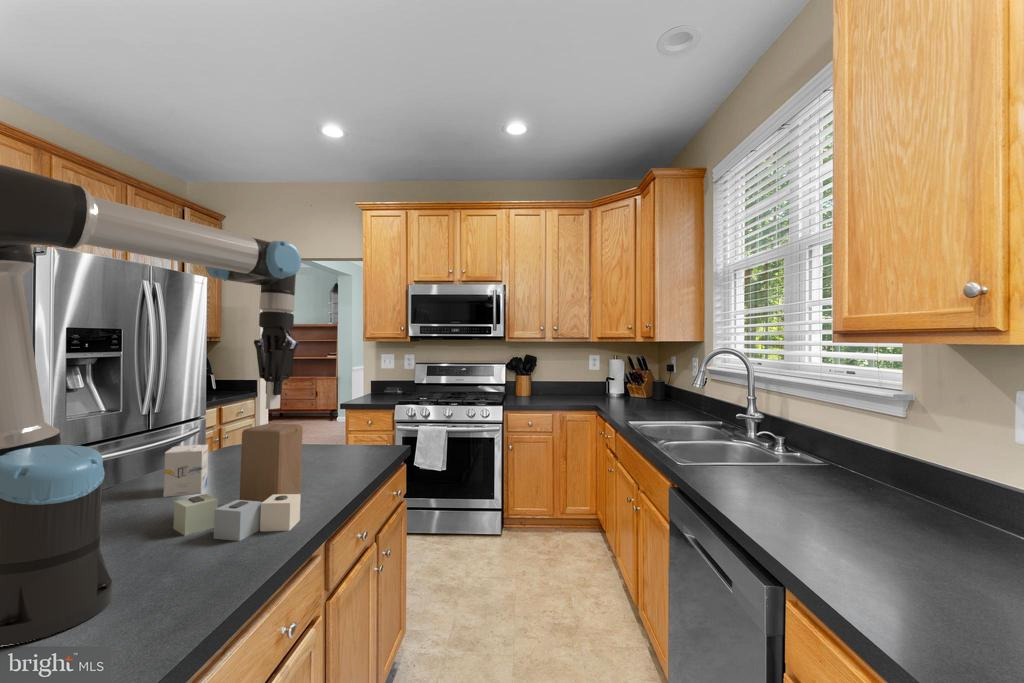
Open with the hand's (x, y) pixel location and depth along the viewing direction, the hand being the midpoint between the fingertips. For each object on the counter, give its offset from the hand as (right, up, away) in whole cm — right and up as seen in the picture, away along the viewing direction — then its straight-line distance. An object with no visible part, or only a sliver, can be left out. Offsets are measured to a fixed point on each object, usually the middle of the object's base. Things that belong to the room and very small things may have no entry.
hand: (272, 408), depth 109 cm
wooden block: (0, -25, 0) cm, 25 cm away
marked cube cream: (+7, -25, -10) cm, 27 cm away
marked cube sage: (-10, -24, -12) cm, 29 cm away
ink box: (-30, -24, +12) cm, 40 cm away
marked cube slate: (+1, -24, -15) cm, 29 cm away
